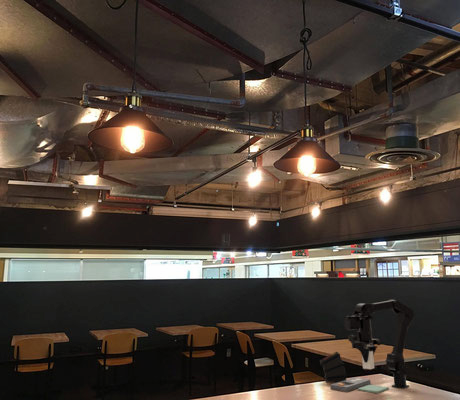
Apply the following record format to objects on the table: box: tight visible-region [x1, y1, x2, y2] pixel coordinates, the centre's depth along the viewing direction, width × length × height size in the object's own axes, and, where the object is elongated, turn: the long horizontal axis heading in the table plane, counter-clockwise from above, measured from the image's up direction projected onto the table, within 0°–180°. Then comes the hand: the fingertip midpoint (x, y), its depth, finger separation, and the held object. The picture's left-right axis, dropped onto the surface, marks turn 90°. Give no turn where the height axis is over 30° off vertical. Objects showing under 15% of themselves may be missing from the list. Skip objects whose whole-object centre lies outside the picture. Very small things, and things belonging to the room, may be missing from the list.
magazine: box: [319, 351, 348, 383], centre depth 230 cm, size 4×13×15 cm, turn 88°
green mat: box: [357, 384, 389, 394], centre depth 208 cm, size 12×10×1 cm
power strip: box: [330, 377, 372, 393], centre depth 218 cm, size 28×9×3 cm, turn 135°
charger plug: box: [361, 351, 375, 370], centre depth 212 cm, size 4×4×8 cm
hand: (368, 361), depth 212 cm, fingers closed on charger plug, 4 cm apart
